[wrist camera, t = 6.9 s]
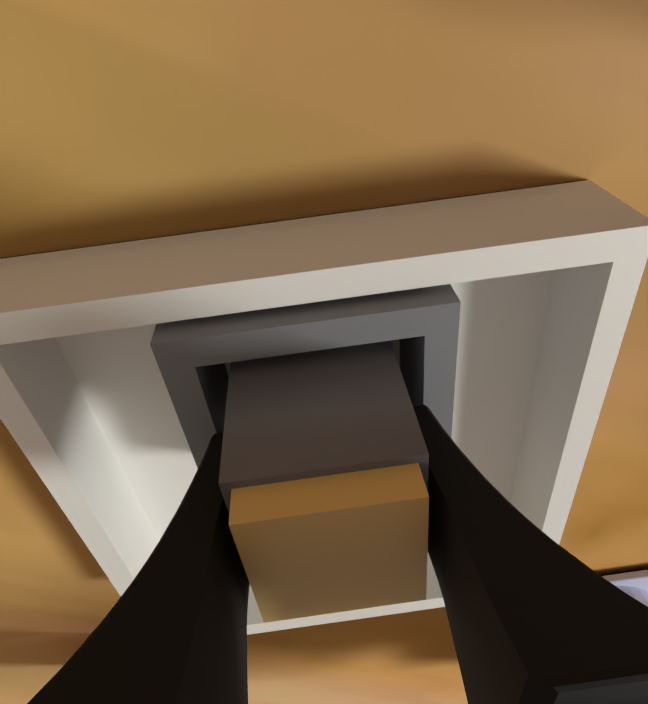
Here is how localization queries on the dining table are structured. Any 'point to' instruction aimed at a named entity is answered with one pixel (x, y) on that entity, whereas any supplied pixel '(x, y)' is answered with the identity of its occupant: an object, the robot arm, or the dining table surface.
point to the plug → (326, 481)
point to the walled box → (320, 348)
